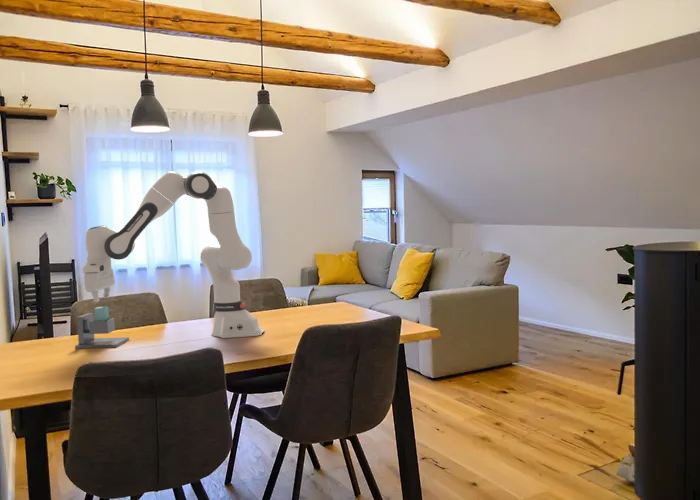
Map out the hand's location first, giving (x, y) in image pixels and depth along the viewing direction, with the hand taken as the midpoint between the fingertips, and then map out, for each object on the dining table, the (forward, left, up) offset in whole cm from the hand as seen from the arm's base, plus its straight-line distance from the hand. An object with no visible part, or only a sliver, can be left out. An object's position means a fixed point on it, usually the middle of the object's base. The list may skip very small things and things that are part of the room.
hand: (101, 299), depth 228 cm
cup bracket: (0, 0, -18) cm, 18 cm away
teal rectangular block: (0, 0, -12) cm, 12 cm away
